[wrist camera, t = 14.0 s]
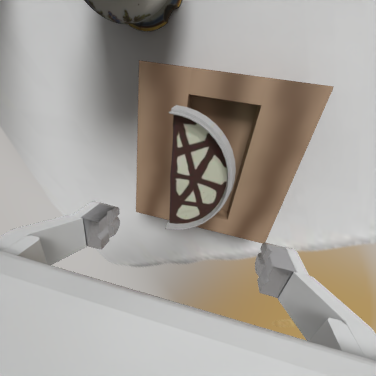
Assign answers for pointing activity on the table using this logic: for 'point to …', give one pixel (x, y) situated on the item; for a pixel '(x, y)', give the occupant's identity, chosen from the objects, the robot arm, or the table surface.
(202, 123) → the food container
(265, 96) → the walnut base
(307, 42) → the table surface
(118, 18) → the apothecary jar
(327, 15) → the table surface
